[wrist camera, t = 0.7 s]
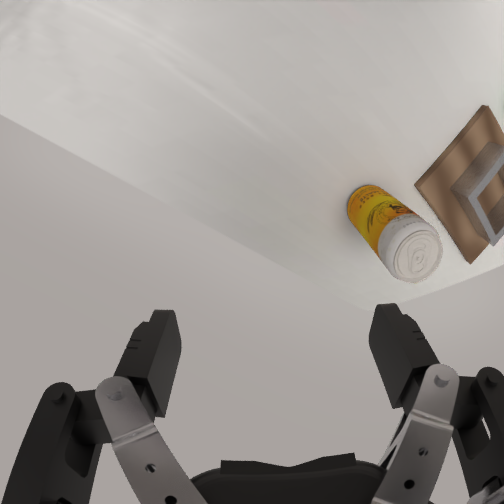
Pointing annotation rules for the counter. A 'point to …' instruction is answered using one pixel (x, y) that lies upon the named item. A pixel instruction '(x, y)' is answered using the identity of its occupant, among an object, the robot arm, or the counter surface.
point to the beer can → (395, 234)
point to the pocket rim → (473, 183)
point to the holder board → (450, 169)
